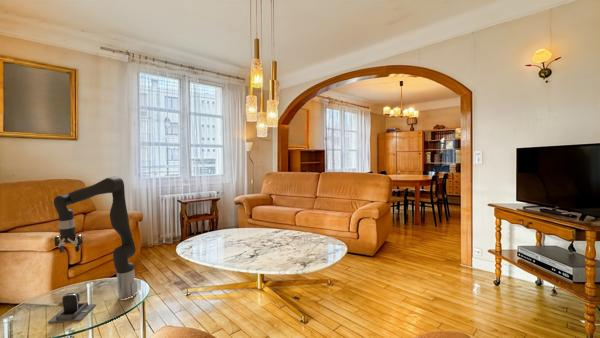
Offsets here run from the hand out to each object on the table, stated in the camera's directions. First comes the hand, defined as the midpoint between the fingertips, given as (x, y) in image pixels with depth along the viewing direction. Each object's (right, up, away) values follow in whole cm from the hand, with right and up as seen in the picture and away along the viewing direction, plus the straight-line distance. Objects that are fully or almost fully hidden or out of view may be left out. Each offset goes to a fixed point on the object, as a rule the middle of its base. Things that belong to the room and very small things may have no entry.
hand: (69, 251), depth 174 cm
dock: (+15, -30, -16) cm, 37 cm away
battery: (+15, -30, -16) cm, 37 cm away
